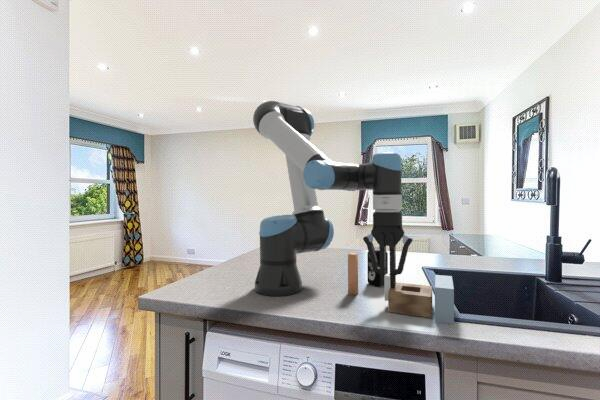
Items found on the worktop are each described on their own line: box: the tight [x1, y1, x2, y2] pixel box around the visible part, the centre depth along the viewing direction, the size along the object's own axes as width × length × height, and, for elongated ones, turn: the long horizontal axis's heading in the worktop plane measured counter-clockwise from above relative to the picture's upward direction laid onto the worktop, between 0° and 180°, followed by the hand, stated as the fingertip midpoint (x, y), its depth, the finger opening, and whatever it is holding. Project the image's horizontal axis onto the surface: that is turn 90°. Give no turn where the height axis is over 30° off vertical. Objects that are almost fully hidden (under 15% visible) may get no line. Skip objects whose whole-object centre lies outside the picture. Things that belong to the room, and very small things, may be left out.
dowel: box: [347, 252, 359, 296], centre depth 94 cm, size 3×3×12 cm
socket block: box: [387, 281, 433, 319], centre depth 81 cm, size 10×10×5 cm
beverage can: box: [367, 246, 389, 288], centre depth 104 cm, size 7×7×12 cm
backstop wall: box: [434, 274, 455, 325], centre depth 77 cm, size 4×13×8 cm, turn 156°
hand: (388, 299), depth 83 cm, fingers closed
